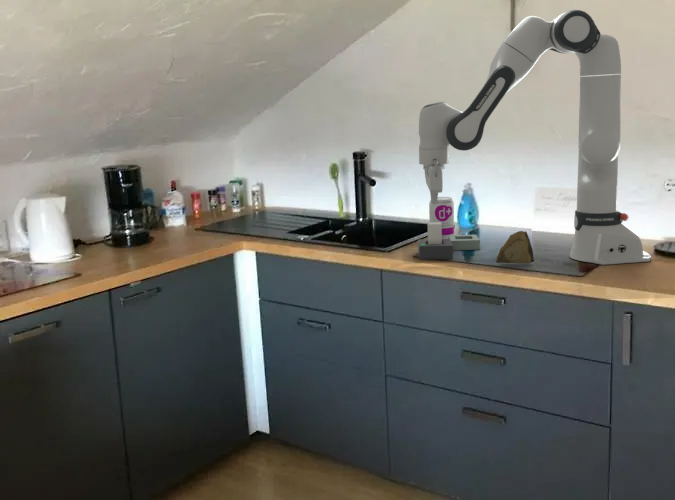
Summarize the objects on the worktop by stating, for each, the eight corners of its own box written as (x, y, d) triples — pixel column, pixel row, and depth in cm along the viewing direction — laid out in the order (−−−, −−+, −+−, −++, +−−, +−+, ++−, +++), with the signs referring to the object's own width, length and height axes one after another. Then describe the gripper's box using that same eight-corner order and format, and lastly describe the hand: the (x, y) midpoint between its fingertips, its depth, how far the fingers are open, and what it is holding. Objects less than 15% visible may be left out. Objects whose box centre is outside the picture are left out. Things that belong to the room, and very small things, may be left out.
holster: (476, 246, 236) (476, 234, 235) (479, 252, 227) (479, 240, 226) (448, 247, 236) (448, 235, 235) (451, 253, 228) (450, 240, 227)
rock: (489, 257, 210) (522, 256, 205) (493, 231, 213) (526, 229, 208) (502, 272, 218) (535, 271, 212) (506, 247, 221) (538, 245, 216)
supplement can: (455, 244, 241) (455, 199, 237) (431, 244, 241) (430, 200, 238) (452, 239, 249) (452, 196, 245) (428, 239, 249) (428, 197, 246)
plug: (441, 250, 223) (440, 222, 221) (441, 253, 220) (441, 224, 218) (428, 251, 223) (427, 222, 221) (428, 253, 220) (428, 224, 218)
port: (449, 254, 226) (449, 237, 225) (452, 261, 216) (452, 244, 215) (417, 255, 227) (417, 238, 226) (419, 262, 217) (419, 245, 216)
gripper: (447, 160, 205) (447, 208, 208) (441, 154, 225) (441, 198, 228) (425, 161, 205) (425, 209, 208) (421, 155, 225) (421, 198, 228)
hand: (434, 203), depth 218 cm, fingers closed
